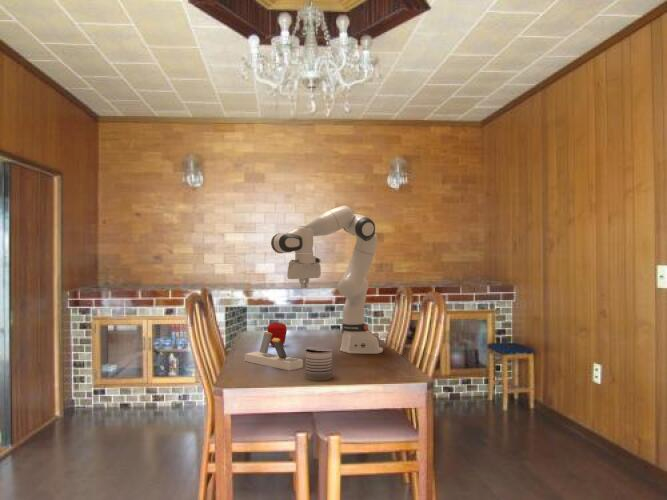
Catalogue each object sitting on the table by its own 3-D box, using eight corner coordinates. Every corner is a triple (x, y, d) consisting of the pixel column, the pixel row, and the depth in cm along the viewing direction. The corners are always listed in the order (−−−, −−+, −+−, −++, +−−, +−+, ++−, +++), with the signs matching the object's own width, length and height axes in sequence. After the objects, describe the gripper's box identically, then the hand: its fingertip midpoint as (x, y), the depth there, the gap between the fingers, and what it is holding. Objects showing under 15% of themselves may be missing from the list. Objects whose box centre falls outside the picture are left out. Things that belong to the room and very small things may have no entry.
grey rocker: (261, 352, 248) (267, 332, 250) (267, 353, 245) (272, 333, 248) (259, 352, 247) (264, 331, 249) (264, 353, 244) (269, 332, 247)
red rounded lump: (263, 346, 287) (263, 321, 287) (277, 343, 295) (277, 319, 295) (276, 348, 280) (276, 323, 280) (290, 346, 288) (290, 321, 288)
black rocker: (281, 355, 238) (274, 337, 235) (287, 356, 236) (279, 338, 232) (279, 357, 237) (271, 339, 234) (284, 358, 235) (277, 340, 231)
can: (301, 375, 221) (301, 346, 221) (325, 372, 225) (326, 344, 225) (311, 381, 210) (311, 351, 210) (337, 378, 215) (337, 349, 215)
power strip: (257, 358, 254) (257, 350, 254) (302, 367, 235) (302, 359, 235) (244, 361, 248) (244, 353, 248) (290, 370, 228) (290, 361, 228)
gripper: (293, 259, 246) (293, 289, 245) (322, 259, 261) (322, 287, 261) (284, 259, 250) (284, 288, 250) (313, 259, 265) (313, 286, 265)
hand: (304, 288), depth 255 cm, fingers closed
